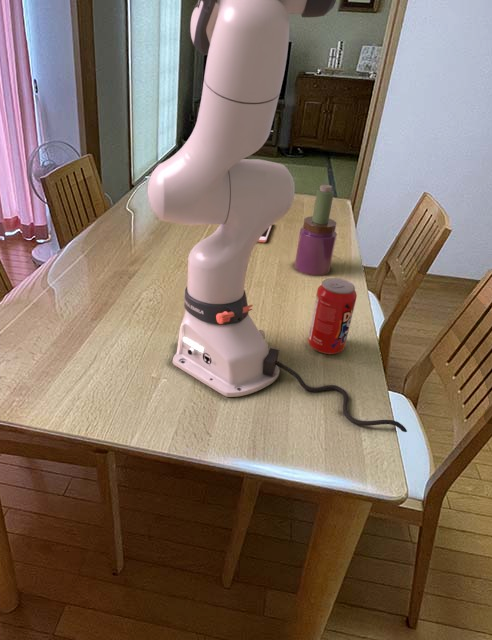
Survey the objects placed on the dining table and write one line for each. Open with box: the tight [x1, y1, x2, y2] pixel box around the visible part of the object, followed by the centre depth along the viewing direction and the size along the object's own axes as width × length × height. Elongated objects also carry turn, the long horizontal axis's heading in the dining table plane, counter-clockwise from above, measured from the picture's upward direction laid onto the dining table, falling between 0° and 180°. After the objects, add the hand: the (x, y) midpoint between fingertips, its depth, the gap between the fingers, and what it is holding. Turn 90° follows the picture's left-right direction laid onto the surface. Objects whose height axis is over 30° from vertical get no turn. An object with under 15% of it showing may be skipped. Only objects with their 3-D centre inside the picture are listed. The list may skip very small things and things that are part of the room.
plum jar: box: [294, 215, 338, 276], centre depth 136 cm, size 10×10×14 cm
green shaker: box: [312, 184, 335, 224], centre depth 130 cm, size 4×4×10 cm
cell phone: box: [257, 224, 273, 243], centre depth 163 cm, size 9×18×1 cm, turn 166°
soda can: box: [307, 277, 358, 355], centre depth 101 cm, size 8×8×15 cm
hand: (245, 133), depth 119 cm, fingers open, 8 cm apart
